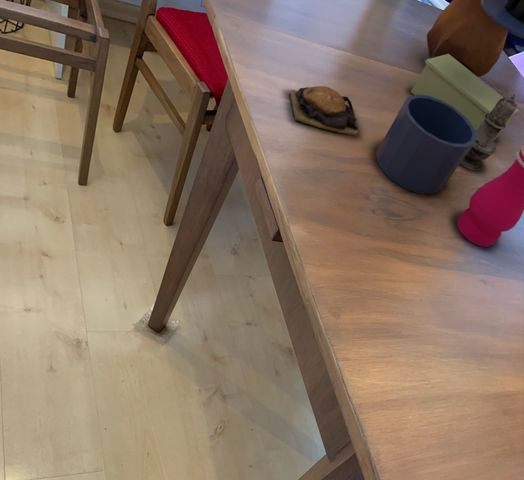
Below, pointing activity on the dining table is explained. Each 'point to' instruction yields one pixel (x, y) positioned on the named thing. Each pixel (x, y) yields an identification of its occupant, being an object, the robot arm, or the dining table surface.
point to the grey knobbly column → (489, 133)
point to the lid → (506, 15)
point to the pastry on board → (324, 109)
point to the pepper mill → (495, 206)
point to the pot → (425, 144)
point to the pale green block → (457, 89)
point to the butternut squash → (467, 36)
